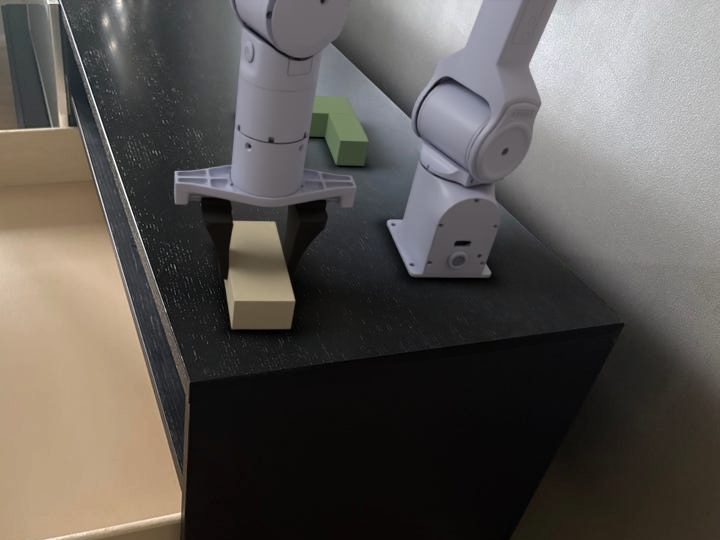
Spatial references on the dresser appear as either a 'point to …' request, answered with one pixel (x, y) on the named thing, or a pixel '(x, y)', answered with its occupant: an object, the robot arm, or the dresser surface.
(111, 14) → the dresser surface
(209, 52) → the dresser surface
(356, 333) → the dresser surface
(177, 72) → the dresser surface
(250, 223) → the cream block
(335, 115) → the green u-shaped block
